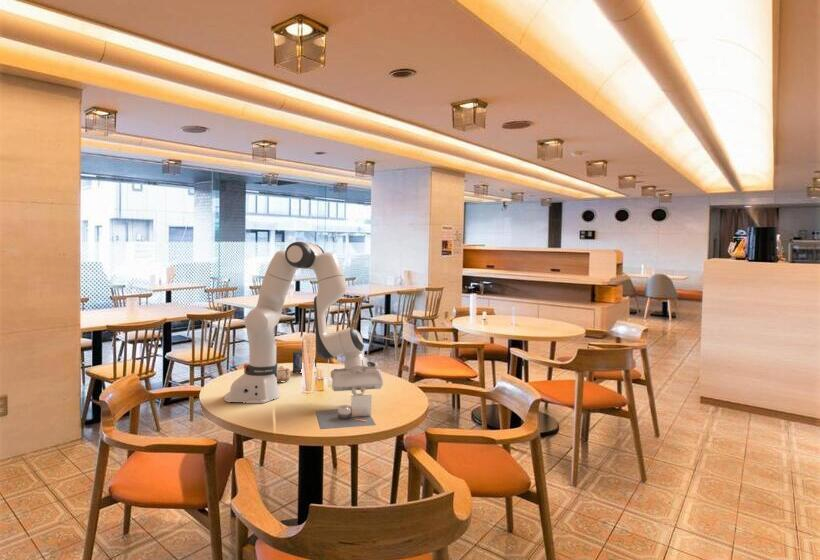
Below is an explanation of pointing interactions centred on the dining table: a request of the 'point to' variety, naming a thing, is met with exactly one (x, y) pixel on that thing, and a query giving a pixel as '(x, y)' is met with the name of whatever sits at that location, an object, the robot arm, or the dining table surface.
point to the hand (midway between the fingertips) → (359, 398)
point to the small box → (298, 361)
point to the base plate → (341, 420)
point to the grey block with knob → (356, 407)
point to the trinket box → (283, 373)
